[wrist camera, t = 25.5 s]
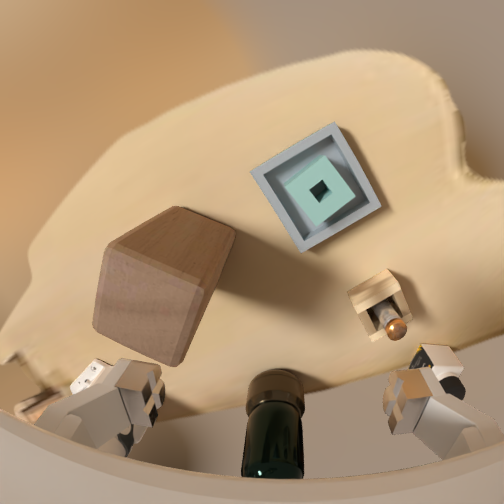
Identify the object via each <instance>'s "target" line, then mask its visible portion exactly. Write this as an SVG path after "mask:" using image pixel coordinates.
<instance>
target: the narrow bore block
mask: <svg viewBox="0 0 504 504" xmlns="http://www.w3.org/2000/svg"><path fill="white" fill-rule="evenodd" d="M320 181H321V182H322V183H323V185H324V186H325V187H326V189H325V190H323V191H322V192H321V193H320V194H318V195H317V196H316V197H314V196H313V194H312V193H311V192H310V191H309V190H310V189H311V188H312V187H313V186H315V185H316V184H317V183H319V182H320ZM284 186H285V188H286V189H287V191H288V192H289V193H290V194H291V195H292V197H293V198H294V199H295V200H296V202H297V203H298V204H299V205H300V207H301V208H302V209H303V210H304V212H305V213H306V214H307V215H308V217H309V218H310V219H311V221H312V222H313V223H314V224H315V226H316V227H317V226H318V225H319V224H321V223H322V222H323V221H324V220H326V219H327V218H328V217H330V216H331V215H332V214H334V213H335V212H336V211H337V210H339V209H340V208H341V207H343V206H344V205H345V204H346V203H348V202H349V201H350V200H352V199H353V198H354V197H355V195H354V193H353V192H352V190H351V189H350V188H349V186H348V185H347V184H346V182H345V181H344V180H343V178H342V177H341V176H340V174H339V173H338V172H337V170H336V169H335V168H334V166H333V165H332V164H331V163H330V161H329V160H328V159H327V157H326V156H324V155H319V156H318V157H316V158H315V159H314V160H313V161H311V162H310V163H309V164H307V165H306V166H305V167H304V168H302V169H301V170H300V171H299V172H297V173H296V174H295V175H293V176H292V177H291V178H290V179H288V180H287V181H286V182H285V183H284Z"/></svg>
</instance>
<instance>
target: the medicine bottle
mask: <svg viewBox="0 0 504 504" xmlns="http://www.w3.org/2000/svg"><path fill="white" fill-rule="evenodd" d="M423 367H430V368H431V369H432V371H433V372H434V374H435V376H436V377H437V379H438V381H439V383H440V384H441V386H442V388H443V389H444V391H445V393H446V394H451V395H453V396H455V397H456V398H458V399H460V400H463V398H464V396H465V392H466V391H465V388H464V386H463V384H462V383H461V381H460V380H459V376H460V375H461V373H462V371H463V369H464V367H463V365H462V364H461V362H460V361H459V359H458V358H457V357H456V355H455V354H454V352H453V351H452V350H451V348H450V347H449V346H443V345H432V344H420V345H419V346H418V349H417V351H416V353H415V355H414V357H413V359H412V361H411V363H410V365H409V367H408V369H407V370H409V369H417V368H423Z"/></svg>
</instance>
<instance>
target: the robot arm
mask: <svg viewBox="0 0 504 504" xmlns="http://www.w3.org/2000/svg"><path fill="white" fill-rule="evenodd" d="M161 374H162V371H161V367H160V365H158V364H154V363H147V362H142V361H136V360H129V359H124V358H121V359H119V360H118V361H117V363H116V364H115V365H114V366H111V365H108V364H106V363H104V362H103V361H101V360H98V359H94V360H93V361H92V362H91V363H90V364H89V366H88V367H87V368H86V369H85V370H84V371H83V372H82V373H81V374H80V375H79V376H78V377H77V378H76V379H75V380H74V381H73V383H72V384H71V385H70V389H71V392H72V393H73V395H71V396H69V397H67V398H64V399H62V400H60V401H58V402H55V403H53V404H51V405H49V406H48V407H47V408H46V410H45V411H44V412H43V413H42V415H41V416H40V417H39V419H38V420H37V421H36V423H35V424H34V425H33V424H30V423H28V422H26V421H24V420H22V419H20V418H18V417H16V416H14V415H12V414H10V413H8V412H6V411H4V410H2V409H0V504H504V434H503V433H502V431H501V429H500V428H499V426H498V424H497V423H496V421H495V419H493V418H491V417H490V416H488V415H486V414H484V413H483V412H481V411H479V410H477V409H476V408H474V407H472V406H470V405H469V404H467V403H465V402H463V401H462V400H460V399H458V398H456V397H455V396H453V395H451V394H446V393H445V391H444V389H443V388H442V386H441V384H440V383H439V381H438V379H437V377H436V376H435V374H434V372H433V371H432V369H431V368H430V367H423V368H417V369H409V370H399V371H392V372H391V373H390V376H389V379H388V380H389V383H390V385H389V386H388V387H387V388H386V389H385V391H384V395H383V409H384V412H385V414H387V415H388V416H390V418H389V420H388V424H389V427H390V430H391V433H392V435H395V434H404V433H411V432H413V434H414V435H415V436H416V437H418V438H419V439H420V440H421V441H422V442H423V443H424V444H425V445H427V446H428V447H429V448H430V449H431V450H432V451H433V452H434V453H436V455H438V456H439V457H440V458H441V459H442V461H438V462H434V463H430V464H425V465H421V466H416V467H411V468H406V469H400V470H395V471H388V472H382V473H375V474H368V475H358V476H348V477H336V478H320V479H264V478H246V477H234V476H223V475H214V474H206V473H199V472H192V471H186V470H180V469H174V468H169V467H164V466H159V465H155V464H150V463H146V462H141V461H137V460H133V459H129V458H126V457H127V456H128V454H129V453H130V451H131V449H132V446H133V444H134V443H138V442H139V441H140V440H141V438H142V436H143V435H144V433H145V431H146V429H147V428H148V427H153V425H154V424H155V422H156V418H157V416H158V413H157V409H158V408H160V407H161V406H162V404H163V402H164V398H165V385H164V382H163V381H162V380H161V379H160V376H161Z"/></svg>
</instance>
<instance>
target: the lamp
mask: <svg viewBox="0 0 504 504" xmlns="http://www.w3.org/2000/svg"><path fill="white" fill-rule="evenodd" d="M304 403H305V402H304V389H303V385H302V383H301V381H300V380H299V379H298V378H297V377H296V376H295V375H294V374H292V373H290V372H287V371H284V370H268V371H265V372H262V373H260V374H258V375H257V376H256V377H255V378H254V379H253V380H252V381H251V383H250V385H249V388H248V395H247V402H246V412H247V415H248V417H249V419H248V423H247V429H246V437H245V446H244V452H243V460H242V467H241V476H242V477H246V478H264V479H303V476H304V452H303V430H302V421H301V418H302V416H303V414H304V411H305V404H304Z"/></svg>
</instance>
